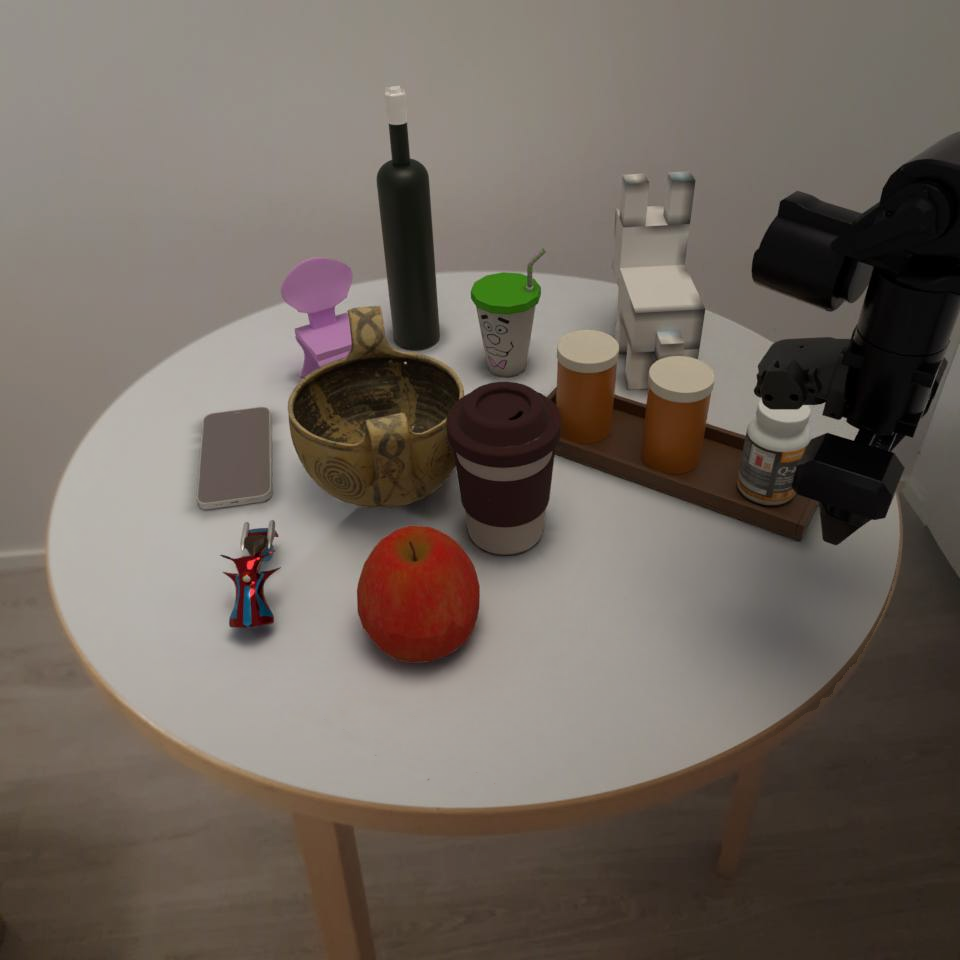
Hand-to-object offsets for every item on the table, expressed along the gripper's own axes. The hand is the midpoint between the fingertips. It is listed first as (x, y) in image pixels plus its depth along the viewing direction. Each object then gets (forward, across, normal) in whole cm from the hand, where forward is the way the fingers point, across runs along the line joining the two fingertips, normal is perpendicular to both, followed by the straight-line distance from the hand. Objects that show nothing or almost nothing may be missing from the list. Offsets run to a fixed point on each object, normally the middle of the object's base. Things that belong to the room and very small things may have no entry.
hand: (846, 505), depth 71 cm
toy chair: (+12, -6, -57) cm, 59 cm away
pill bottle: (+12, -12, -8) cm, 19 cm away
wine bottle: (+12, -19, -55) cm, 59 cm away
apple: (+12, +19, -28) cm, 36 cm away
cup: (+12, -19, -42) cm, 48 cm away
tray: (+12, -12, -19) cm, 25 cm away
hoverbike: (+12, +23, -43) cm, 50 cm away
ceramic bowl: (+12, +5, -42) cm, 44 cm away
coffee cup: (+12, +5, -28) cm, 31 cm away
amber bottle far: (+12, -12, -29) cm, 33 cm away
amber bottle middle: (+12, -12, -19) cm, 25 cm away
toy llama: (+12, -29, -28) cm, 42 cm away
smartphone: (+12, +10, -58) cm, 60 cm away
